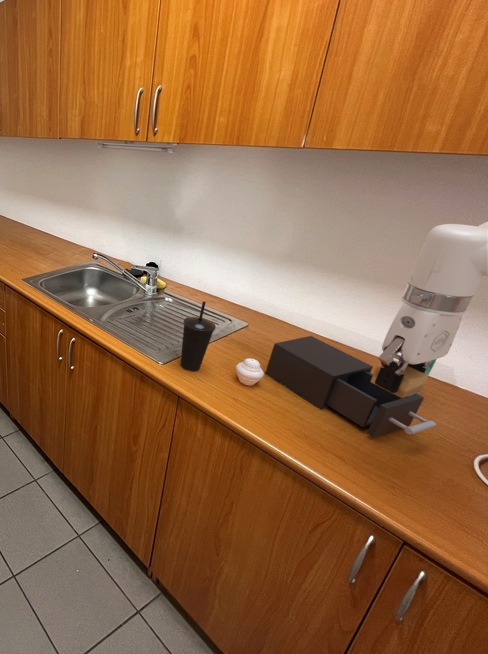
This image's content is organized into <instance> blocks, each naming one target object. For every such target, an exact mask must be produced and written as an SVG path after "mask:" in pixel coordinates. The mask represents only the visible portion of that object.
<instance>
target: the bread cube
mask: <svg viewBox="0 0 488 654" xmlns="http://www.w3.org/2000/svg"><path fill="white" fill-rule="evenodd" d="M398 361H399V360H394V362H396V363H397V364H398V366H399V365H400V362H398ZM380 365H381V364H378V365H376V367H375V370H374V372H373V373H372V374H373V377H372V379H371V382H372V383H373V384H375V380H376V378H377V376H378V373H379V371H380V369H381V367H380ZM402 374H403V375H405V376H404V378H403V380H402V382H401V384H400V387H399V389H398V391H397V392H396V393H393V394H395V395H397V396H399V397H401V398H404V397H407V396H410V395H414V394H417V393H419V394H420V393H421V392H422V390H423V389H424V386H425V384H426V382H427V380H428V379H429V375H430V374H429V375H426V374H424V373H422V372H420V371H418V370H415V369H413V368H411V367H409V366H407V367H406V368H405V370H404V371H403V373H402ZM375 385H376V384H375ZM377 386H378V385H377ZM379 387H380V386H379ZM381 388H382V387H381ZM383 389H384V388H383ZM385 390H386V389H385ZM387 391H388V390H387ZM389 392H390V391H389ZM391 393H392V392H391Z"/></svg>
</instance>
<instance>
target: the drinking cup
mask: <svg viewBox="0 0 488 654" xmlns="http://www.w3.org/2000/svg"><path fill="white" fill-rule="evenodd" d="M201 303H202V304H201V308H200V313H199V316H187V317H185V318H184V319H183V321H182V322H183V334H182V343H181V354H180V355H181V356H180V366H181V368H182V369H184V370H186V371H188V372H198V371H200V369H201V366H202V364H203V361H204V357H205V356H206V353H207V351H208V347H209V344H210V342H211V338H212V337H213V333H214V331H216V327H217V326H216V324H215V323H214V322H212V321H211V320H209V319H206V318H204V312H205V307H206V301H202V302H201Z"/></svg>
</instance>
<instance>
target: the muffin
mask: <svg viewBox="0 0 488 654" xmlns="http://www.w3.org/2000/svg"><path fill="white" fill-rule="evenodd" d="M235 372H236V375H237V378H238V380H239V382H240V383H241V384H242V385H245V386H249V387H250V386H254V385H255V384H257V383H258V382H259V381H261V379H263V378H264V376H265V373H264V370H263V369H262V368H261V364H260V362H259V361H258V360H257V359H256V358H255V359H254V358H252V357H251V358H250V357H248V358H245V359H244V360H243V361H241V362H239V363H237V364H236V366H235Z"/></svg>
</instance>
